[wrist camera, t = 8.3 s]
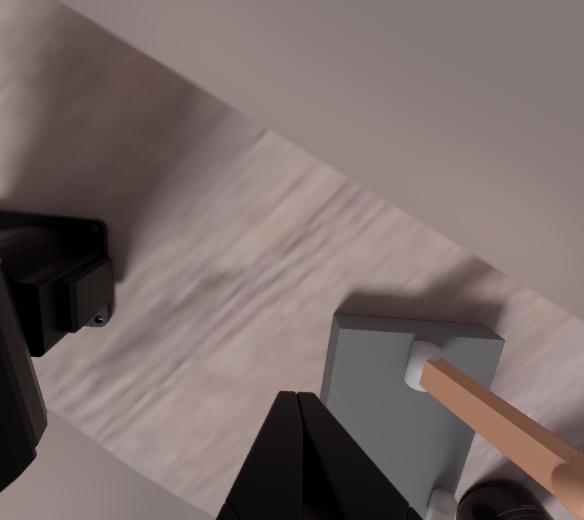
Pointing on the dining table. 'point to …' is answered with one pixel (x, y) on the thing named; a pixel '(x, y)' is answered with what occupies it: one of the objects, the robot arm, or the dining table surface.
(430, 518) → the pale grey lever
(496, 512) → the supplement bottle
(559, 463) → the terracotta lever
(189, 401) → the dining table surface
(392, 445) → the switch panel
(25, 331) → the robot arm
